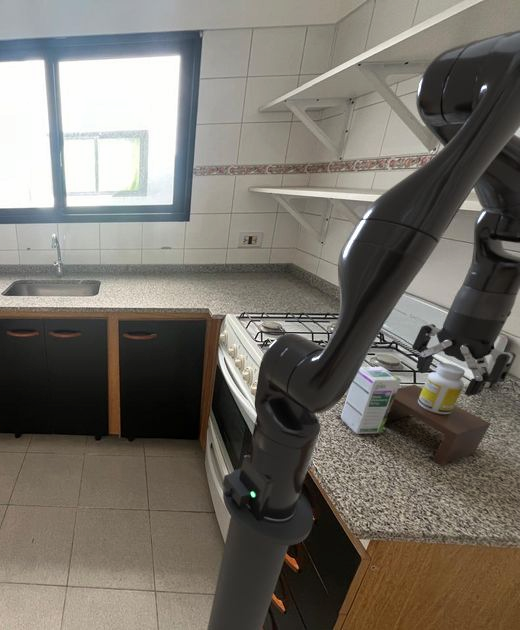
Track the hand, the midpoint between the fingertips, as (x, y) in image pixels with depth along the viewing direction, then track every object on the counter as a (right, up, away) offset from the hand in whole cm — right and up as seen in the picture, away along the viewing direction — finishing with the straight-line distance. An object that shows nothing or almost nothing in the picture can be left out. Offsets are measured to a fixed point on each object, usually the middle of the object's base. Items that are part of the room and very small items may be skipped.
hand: (444, 382), depth 71 cm
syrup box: (-11, -12, +9) cm, 18 cm away
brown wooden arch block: (0, -13, +6) cm, 14 cm away
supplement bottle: (0, -6, +3) cm, 6 cm away
